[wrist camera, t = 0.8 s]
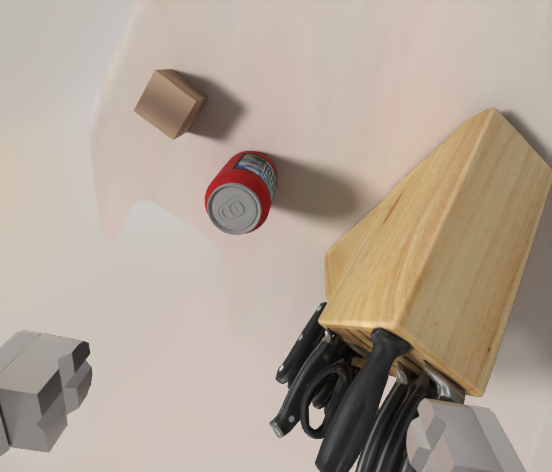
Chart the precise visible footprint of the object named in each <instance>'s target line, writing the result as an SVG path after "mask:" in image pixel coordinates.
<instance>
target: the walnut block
mask: <svg viewBox="0 0 552 472" xmlns="http://www.w3.org/2000/svg"><path fill="white" fill-rule="evenodd" d="M207 98H208V97H207V96H205V95H204V94H203V93H202V92H200V91H199V90H198V89H196V88H195V87H194V86H193V85H191V84H190V83H189V82H187V81H186V80H185V79H184V78H182V77H181V76H180V75H178V74H177V73H176V72H174V71H173V70H172V69H168V70H155V71H154V73H153V75H152V77H151V79H150V81H149V83H148V85H147V87H146V88H145V90H144V92H143V94H142V96H141V98H140V100H139V102H138V104H137V105H136V107H135V109H134V111H135V112H136V113H137V114H139V115H140V116H141V117H143V118H144V119H145V120H147V121H148V122H150V123H151V124H152V125H154V126H155V127H156V128H158V129H159V130H161V131H162V132H163V133H165V134H166V135H167V136H169V137H170V138H172V139H173V140H174V139H175V138H177V137H179V136H181V135H182V134H184V133H186V132H187V131H188V129H189V128H190V126H191V124H192V123H193V121H194V120H195V118H196V116H197V115H198V113H199V111H200V110H201V108H202V107H203V105H204V103H205V102H206V100H207Z"/></svg>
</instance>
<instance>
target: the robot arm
mask: <svg viewBox="0 0 552 472" xmlns="http://www.w3.org/2000/svg"><path fill="white" fill-rule="evenodd" d="M89 354H90V349H89V343H87V342H85V341H81V340H76V339H71V338H66V337H60V336H56V335H51V334H46V333H44V334H43V333H38V332H33V331H28V330H22V331H20V332H17V333H15V334H14V335H13V336H12V337H11V338H10V339H9V340H8V341H7V342H5V343H4V344H3V345H2V346H1V347H0V456H1V455H3V454H4V453H5V452H7V451H8V450H9V449H10V448H9V447H14V448H20V449H28V450H35V451H42V452H49V451H50V450H51V449H52V447H53V446H54V444H55V443H56V441H57V439H58V438H59V437H60V435H61V434H62V432H63V431H64V429H65V428H66V426H67V414H69V413H71V412H72V411H74V410H76V409H77V408H79V407H80V405H81V404H82V402H83V400H84V399H85V397H86V395H87V393H88V390H89V387H90V385H91V380H92V367H91V366H90V365H89V364H88V362H87V361H86V358H87V357H88V356H89ZM417 410H418V413H419V417H418V418H416V419H414V420H412V421H411V423H410V425H409V428H408V430H407V440H406V445H407V453H408V457H409V461H410V464H411V465H412V467H413V468H414V469H415V470H416V471H417V472H526V470H525V468H524V466H523V465H522V463H521V461H520V459H519V457H518V456H517V454H516V452H515V450H514V448H513V447H512V445H511V443H510V441H509V439H508V438H507V436H506V434H505V432H504V430H503V429H502V427H501V425H500V423H499V421H498V419H497V418H496V416H495V414H494V413H493V412H492V411H491V410H490V409H489V408H483V407H477V406H471V405H464V404H459V403H453V402H446V401H440V400H433V399H427V398H425V399H423V400H422V401H421V402H420V404H419V406H418V408H417Z"/></svg>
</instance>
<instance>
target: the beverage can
mask: <svg viewBox="0 0 552 472" xmlns="http://www.w3.org/2000/svg"><path fill="white" fill-rule="evenodd" d="M276 183H277V173H276V169H275V167H274V165H273V163H272V162H271V161H270V160H269V159H268V158H267V157H266V156H264V155H263V154H261V153H258V152H255V151H244V152H240V153H238V154H236V155H235V156H233V157H232V158H231V159H230V160H229V161H228V163H227V164H226V165H225V166H224V167H223V168H222V170H221V171H220V172H219V173H218V175H217V176H216V177H215V178H214V180H213V181H212V182H211V184H210V185H209V187H208V188H207V191H206V194H205V207H206V211H207V213H208V215H209V218H210V220H211V221H212V223H213V224H214V225H215V226H216V227H217V228H218V229H220V230H221V231H223V232H225V233H228V234H233V235H240V234H245V233H249V232H252V231H254V230H256V229H258V228H259V227H260V226H261V225H262V224H263V223H264V222H265V220H266V218H267V216H268V214H269V210H270V207H271V203H272V200H273V196H274V192H275V188H276Z"/></svg>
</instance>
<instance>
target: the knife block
mask: <svg viewBox="0 0 552 472" xmlns="http://www.w3.org/2000/svg"><path fill="white" fill-rule="evenodd" d="M551 185H552V168H551V167H549V165H548V164H547V163H546V162H545V161H544V160H543V159H542V158H541V157H540V156H539V154H538V153H537V152H536V151H535V150H534V149H533V148H532V147H531V146H530V144H529V143H528V142H527V141H526V140H525V139H524V138H523V136H522V135H521V134H520V133H519V132H518V131H517V130H516V129H515V128H514V127H513V126H512V125H511V124H510V123H509V122H508V121H507V120H506V119H505V118H504V116H503V115H502V114H501V113H500V112H499V111H498V110H497V109H496V108H494V107H492V108H490V109H487V110H486V111H484V112H482V113H480V114H478V115H476V116H474V117H472V118H470V119H468V120H467V121H466V122H465V123H464V124H462V125H461V126H460V127H459V128H458V129H457V130H456V131H455V132H454V133H453V134H451V135H450V136H449V137H448V138H447V139H446V140H445V141H444V142H443V143H442V144H441V145H440V146H438V147H437V148H436V149H435V150H434V151H433V152H432V153H431V154H430V155H429V156H428V157H427V158H426V159H425V160H423V161H422V162H421V163H420V164H419V165H418V166H417V167H416V168H415V169H414V170H413V171H412V172H411V173H409V174H408V175H407V176H406V177H405V178H404V179H403V180H402V181H401V182H400V183H399V184H398V185H397V186H395V187H394V188H393V189H392V190H391V191H390V192H389V193H388V195H387V197H386V199H384V200H383V201H382V202H380V203H379V204H378V205H377V206H376V207H375V208H374V209H373V210H372V211H370V212H369V213H368V214H367V215H366V216H365V217H364V218H363V219H362V220H361V221H360V222H358V223H357V224H356V225H355V226H354V227H353V228H352V229H351V230H350V231H349V232H348V233H346V234H345V235H344V236H343V237H342V238H341V239H340V240H339V241H338V242H337V243H336V244H335V245H334V246H333V247H331V248H330V249H329V250H328V251H327V252H326V253H325V295H326V298H327V300H328V303H326V302H324V303H321V304H320V306H319V307H318V309H317V310H316V312H315V313H314V315H313V316H312V318H311V319H310V321H309V322H308V324H307V325H306V327H305V328H304V330H303V331H302V333H301V335H300V336H299V338H298V340H297V341H296V343H295V345H294V346H293V348H292V350H291V351H290V353H289V355H288V356H287V358H286V360H285V361H284V362H283V364H282V365H281V366H280V367H279V369H278V372H277V376H276V380H277V381H278V382H279V383H281V384H284V383H286V382H288V389H289V391H288V394H287V396H286V398H285V400H284V403H283V405H282V407H281V409H280V411H279V413H278V415H277V416H276V417H275V418H274V419H273V420H272V421H271V422H270V423H269V424H270V426H271V427H272V429H273V430H274V432H275V433H276V434H277V436H278V437H279V438H281V437H283V436H285V435H286V434H287V433H289V432H290V431H291V430H292V429H293V427H294V426H295V425H296V424H297V423H298V422H299V421H300V420H301V425H302V428H303V430H304V432H305V433H306V434H307V435H308V436H310V437H311V438H314V439H322V438H324V439H323V442H322V444H321V447H320V450H319V453H318V456H317V458H316V461H315V465H316V466H317V468H318V469H319V471H320V472H349V470H350V469H351V467H352V466H353V464H354V463H355V461H356V460H357V458H358V456H359V455H360V458H359V460H358V463H357V468H356V471H355V472H417V471H416V470H415V469H414V468H413V467H412V465H411V464H410V461H409V457H408V453H407V445H406V440H407V430H408V428H409V425H410V423H411V421H412V420H414V419H416V418H418V417H419V413H418V410H417V408H418V406H419V404H420V402H421V401H422V400H423V399H425V398H427V399H433V400H440V401H446V402H453V403H459V404H464V400H465V394H466V395H470V396H475V397H482V396H483V395H484V392H485V389H486V386H487V384H488V381H489V378H490V375H491V372H492V369H493V366H494V363H495V360H496V357H497V354H498V350H499V347H500V344H501V341H502V338H503V335H504V332H505V329H506V326H507V323H508V320H509V317H510V314H511V311H512V308H513V304H514V301H515V298H516V295H517V292H518V289H519V286H520V283H521V280H522V277H523V273H524V270H525V267H526V264H527V261H528V258H529V254H530V251H531V248H532V245H533V242H534V239H535V236H536V232H537V229H538V226H539V223H540V220H541V217H542V213H543V210H544V207H545V204H546V201H547V198H548V195H549V191H550V188H551ZM333 335H334V337H333ZM388 375H390V376H393V377H397V380H396V382H395V384H394V386H393V387H392V389H391V391H390V392H389V394H388V395H387V397H386V399H385V401H384V402H383V404H382V406H381V408H380V409H379V404H380V401H381V398H382V394H383V391H384V388H385V386H386V383H387V380H388ZM312 401H313V402H312ZM311 402H312V403H313V406H314V407H315V408H317V409H321V408H323V407H324V414H325V418H324V420H323V423H322V425H321V426H320V427H319V428H318V429H315V430H314V429H313V428H311V427H310V426H309V405H310V403H311ZM361 450H362V451H361ZM360 452H361V454H360Z"/></svg>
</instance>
